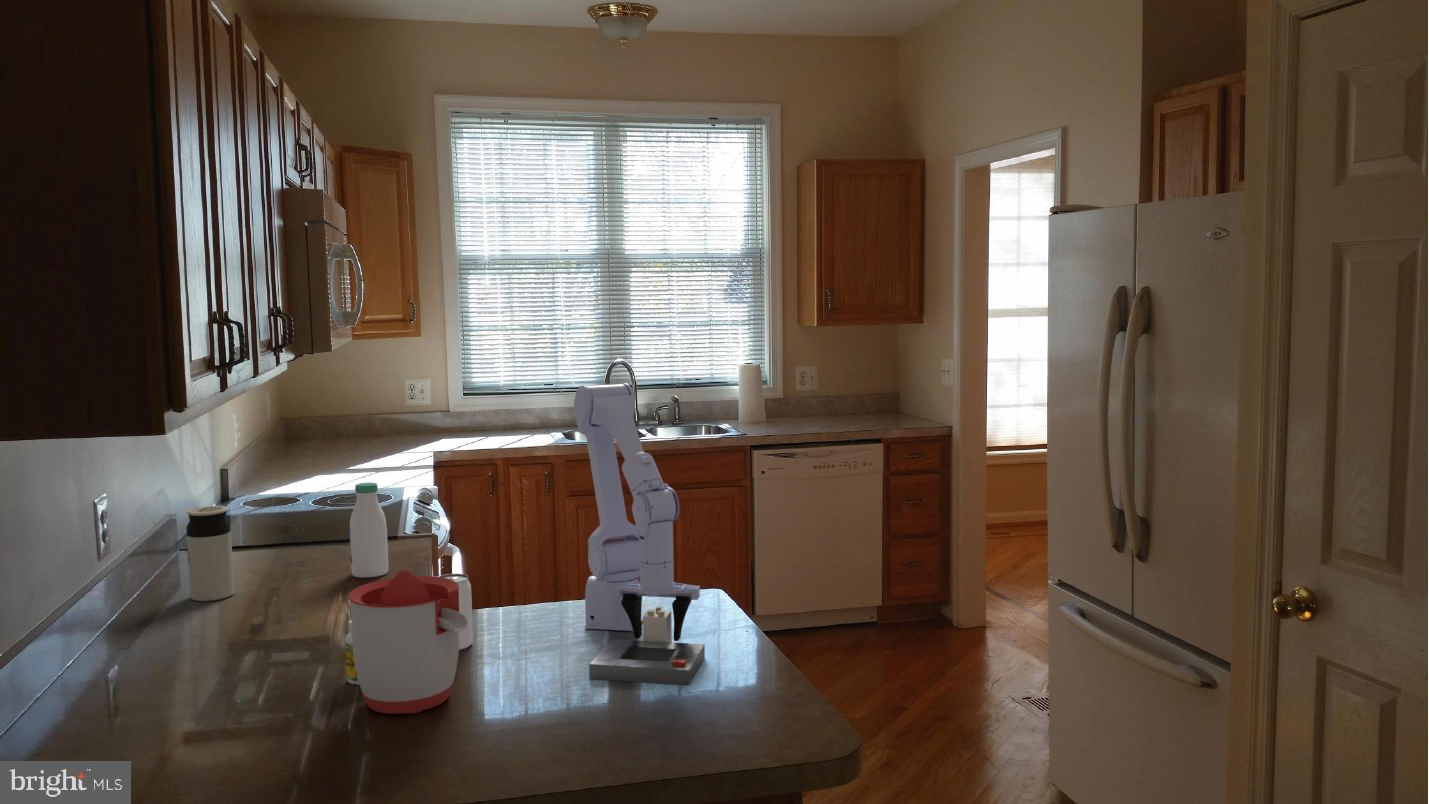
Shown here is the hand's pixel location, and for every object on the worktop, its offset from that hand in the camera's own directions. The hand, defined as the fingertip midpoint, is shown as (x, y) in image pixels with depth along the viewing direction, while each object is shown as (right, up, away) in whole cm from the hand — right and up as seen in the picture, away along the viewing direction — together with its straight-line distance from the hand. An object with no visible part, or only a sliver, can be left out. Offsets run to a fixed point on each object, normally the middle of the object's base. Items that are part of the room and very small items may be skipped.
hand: (657, 638), depth 174 cm
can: (-35, -2, +2) cm, 35 cm away
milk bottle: (-66, +2, +49) cm, 82 cm away
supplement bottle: (-45, -4, -13) cm, 47 cm away
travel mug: (-92, 0, +33) cm, 98 cm away
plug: (0, -2, 0) cm, 2 cm away
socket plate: (-1, -3, -10) cm, 10 cm away
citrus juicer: (-35, -4, -22) cm, 42 cm away
